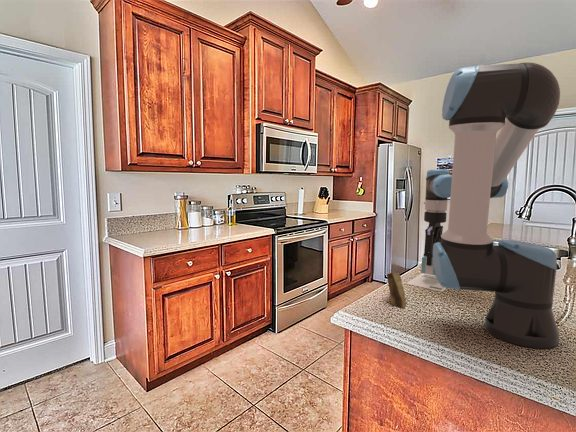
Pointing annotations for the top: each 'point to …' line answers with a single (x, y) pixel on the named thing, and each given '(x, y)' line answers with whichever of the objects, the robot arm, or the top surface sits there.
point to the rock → (396, 290)
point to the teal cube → (424, 266)
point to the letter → (426, 282)
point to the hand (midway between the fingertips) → (432, 271)
